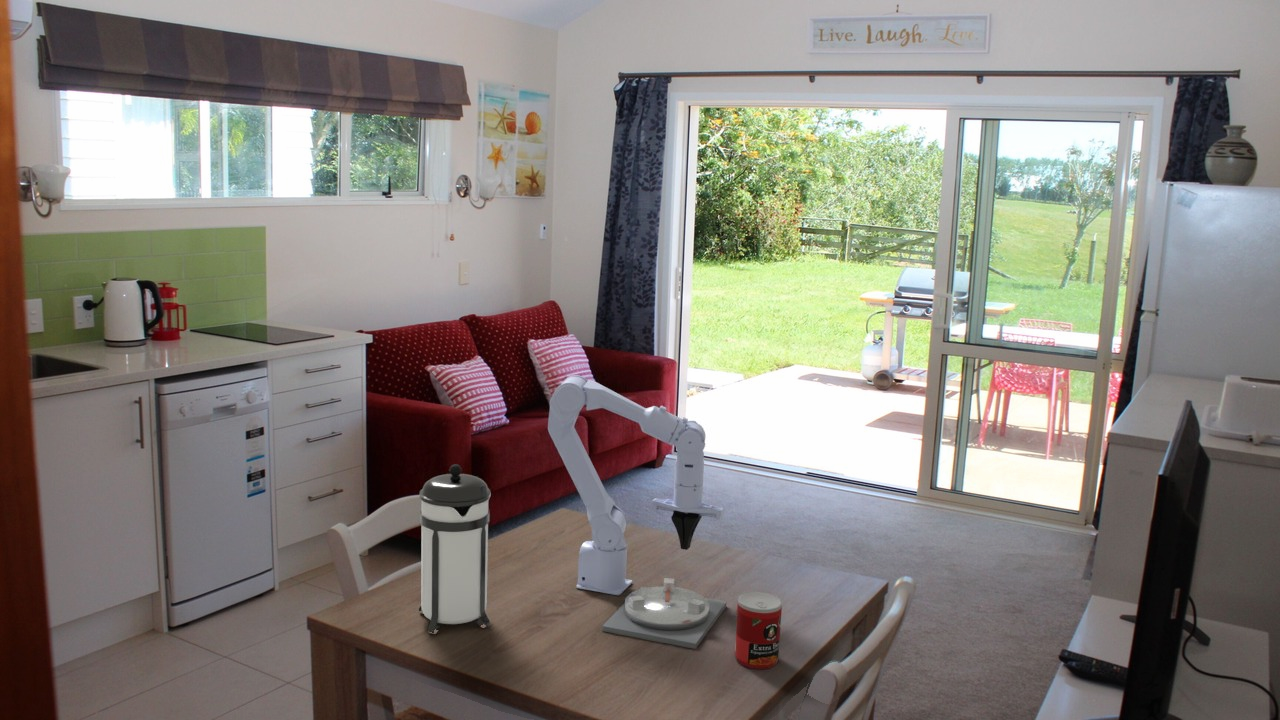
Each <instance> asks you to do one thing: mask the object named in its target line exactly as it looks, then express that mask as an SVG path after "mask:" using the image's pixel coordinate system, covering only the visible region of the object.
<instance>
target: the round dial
mask: <svg viewBox="0 0 1280 720" xmlns="http://www.w3.org/2000/svg"><path fill="white" fill-rule="evenodd" d="M638 589H639V588H638ZM638 589H636V590H634V591H632V592H631V593H629V594H628V595H627V596H626V597H625V599H624V600H625V601H624V603H625V614H626V616H627V617H628V618H629V619H630V620H631V621H633V622H635V623H637V624H639V625H642V626H645V627H649V628H654V629H661V630H682V629H688V628H693V627H696V626H698V625H701V624H702V623H704V622H705V621H706V620H707V619H708V615H709V602H708V601H707V599H706V598H707V597H704V596H703V594H700V593H698V592H696V591H694V590H691V589H686V588H683V587H675V578H670V577H666V578H665V577H664V578H663V586H648V587H647V586H646V588H642V589H639V590H638Z"/></svg>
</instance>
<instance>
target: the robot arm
mask: <svg viewBox="0 0 1280 720" xmlns="http://www.w3.org/2000/svg"><path fill="white" fill-rule="evenodd" d="M585 405H586V411H591V410H593V411H594V410H598V409H604V410H607V411H609V412H611V413H614V414H617V415H619V416H621V417H624V418H626V419H628V420H631V421H633V422H635V423H638V425H639V427H640V429H641V431H642V432H643V433H645V434H647V435H648V436H651V437H653V438H655V439H656V440H659V441H661V442H663V443H665V444H668V445H669V446H675V448H676V459H675V463H674V483H673V484H674V485H673V498H658V497H655V498H654V499H652V500H651V510H653V511H658V510H661V511H667V512H672V515H671V521H672V524H673V525H674V527H675V530H676V532H677V537H678V540H679V544H680V549H681V550H685V551H688V550H689V549H690V548H691V544H692V539H693V537H694V534H695V531H696V529H697V528H698V525H699V522H700V521H701V519H702V517H706V518H711V519H712V518H713V519H715V520H719V521H720V520H722V519H723V517H724V507H720V506H715V505H713V504H708V503H705V502H703V485H704V468H705V467H704V466H705V465H704V464H705V462H704V458H705V457H704V456H705V452H704V449H705V447H706V431H705V430H704V428H703V426H702V425H701V424H699V423H698V422H697V421H695V420H689V419H688V418H686V417H683V418H681V417H680V416H678V415H675V414H673V413H672V412H668V411H667V407H665V406H663V405H660V406H659V407H658V406H657V405H656V406H655V405H652V406H650V407H647V408H646V407H644V406H642V405H640V404H638V403H636V402H634V400H633V401H632V400H631V399H629V398H627V397H625V396H623V395H621V394H620V393H617V392H615V391H614V390H612V389H610V388H608V387H606V386H604V385H602V384H600V383H599V382H596V381H595V380H592V379H586V378H585V377H584V376H581V375H578V374H577V375H576V374H573V375H570V376H567V377H566V378H565V379H564V380H563V381H562V383H561V384H559V385H558V386H557V388H556V389H555V390H554V392H553V394H552V396H551V397H550V400H549V412H548V423H547V431H548V433H549V436H550V437H551V440H552V442H553V444H554V446H555V448H556V449H557V452H558V454H559V456H560V457H561V459H562V462H563V464H564V466H565V468H566V470H567V472H568V474H569V476H570V478H571V480H572V482H573V484H574V486H575V488H576V491H577V492H578V494H579V496H580V498H581V501H582V503H583V504H584V507H585V508H586V515H587V520H588V523H589V525H590V529H591V538H592V540H586V541H583V543H582V545H581V546H580V549H579V552H578V563H577V564H578V566H577V584H576V585H575V586H576V588H577V589H581V590H585V591H586V590H587V591H593V592H596V593H597V592H599V593H602V594H609V595H613V596H620V595H621V594H622V593H623V592H624V591H625V590H626V589H627V588H628V587H630V585H631V584H633V580H632V579H629V578H628V579H627V578H626V576H627V555H628V554H627V551H628V542H627V540H626V539H625V537H624V533H625V531H626V529H627V527H628V517H627V514H626V513H625V512H624V511H623V510H622V509H621V508H620V507H619V506H617V505H616V503H615V501H614V499H613V498H612V497H611V496H610V495H609V494H608V493H607V490H606V489H605V487H604V484H603V482H602V481H601V479H600V476H599V474H598V472H597V470H596V469H595V467H594V465H593V462H592V461H591V458H590V456H589V454H588V453H587V450H586V448H585V447H584V444H583V442H582V440H581V438H580V436H579V434H578V432H577V430H576V428H575V424H576V422H577V419H578V418H579V415H580V412H581V410H582V408H584V406H585Z"/></svg>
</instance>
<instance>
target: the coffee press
mask: <svg viewBox="0 0 1280 720" xmlns="http://www.w3.org/2000/svg"><path fill="white" fill-rule="evenodd" d="M448 471H449V473H446V474H441V475H437V476H434V477H432V478H430V479H429V480H427V481H426V482H424V484H423V487H422V489H420V490H419V500H420V501H421V510H420V519H419V520H420V521H419V522H420V523H419V524H421V544H420V545H421V546H420V547H421V559H420V560H421V565H420V567H421V573H420V579H421V585H420V589H421V591H420V592H421V593H420V598H421V600H420V602H421V604H420V606H419V608H418V612H419V611H422V612H423V614H424V617H426V618H427V619H429V625H428V627H427V632H428V631H429V632H432V633H434V630H435V629H436V630H439V631H440V629H441V627H442V626H443V625H444V624H445V625H458V624H459V625H460V624H464V623H465V624H466V623H469V622H475V623H476V624H477V625H478V626H479V627H480V626H481V625H483V624H485V625H486V627H485V629H486V628H488V627H489V626H490V625H491V621H490V619H489V617H488V616H487V613H486V610H487V605H488V603H487V601H488V596H487V595H488V554H489V553H488V552H489V551H488V548H489V547H488V545H489V539H488V538H489V523H490V509H489V500H490V498H491V494H492V493H491V489H490V488H489V487H488V484H487V483H486V482H485V481H484V480H483V479H482V478H480V477H479V476H475V475H472V474H466V473H462V471H463V469H462V466H460V465H459V464H457V463H456V464H455V463H454V464H452V465H451V466H450V467H449V469H448ZM480 617H481V618H480ZM482 620H483V621H482ZM487 626H488V627H487Z"/></svg>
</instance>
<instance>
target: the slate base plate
mask: <svg viewBox="0 0 1280 720" xmlns="http://www.w3.org/2000/svg"><path fill="white" fill-rule="evenodd" d="M642 588H647V586H640V587H639V588H638V589H637V590H639V589H642ZM705 598H706V599H707V601H708V602H709V615H708V619H707V620H706V621H705V622H704V623H702V624H701V625H698V626H696V627H693V628H688V629H682V630H661V629H654V628H649V627H645V626H642V625H639V624H637V623H635V622H633V621H631V620H630V619H629V618H628V617H627V616H626V614H625V602H624V603H623V604H621V606H620V607H619V608H618V609H617V610H616V611H615V612H614V614H612V615H611V616H610V617H609V619H607V620H606V622H604V624H603V625H602V627H601V631H602V632H606V633H611V634H616V635H620V636H621V635H622V636H626V637H632V638H636V639H641V640H646V641H652V642H658V643H663V644H667V645H673V646H679V647H683V648H688V649H694V650H696V649H697V648H698V647H699V645H700V643H701V642H702V641H703V640H704V638H705V636H706V635H707V634H708V633H709V631H710V630H711V629H712V627H713V626H714V624H715V623H716V622H717V619H718V618H719V617H720V616H721V615H722V613H723V611H725V609H726V607H727V601H725V600H721V599H720V600H719V599H715V598H707V597H705Z"/></svg>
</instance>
